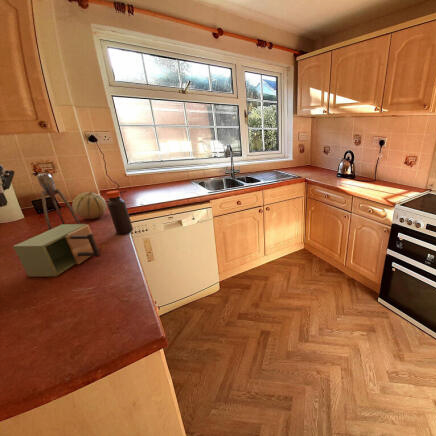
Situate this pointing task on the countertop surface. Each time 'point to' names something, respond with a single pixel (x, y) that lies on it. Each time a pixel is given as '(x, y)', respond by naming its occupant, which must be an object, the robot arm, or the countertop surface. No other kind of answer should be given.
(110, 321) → the countertop surface
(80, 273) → the countertop surface
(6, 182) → the robot arm
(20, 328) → the countertop surface
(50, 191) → the juicer
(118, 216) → the bottle
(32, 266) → the cabinet
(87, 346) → the countertop surface
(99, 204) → the cantaloupe
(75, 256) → the brown panel dark handle
